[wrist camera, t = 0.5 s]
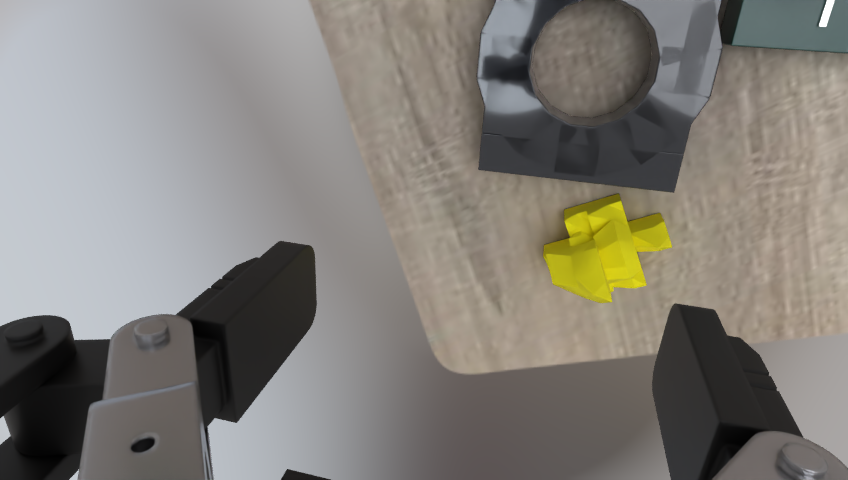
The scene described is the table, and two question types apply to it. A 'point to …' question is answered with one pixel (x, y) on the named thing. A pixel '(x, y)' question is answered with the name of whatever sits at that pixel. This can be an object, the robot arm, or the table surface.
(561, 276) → the yellow faceted cluster
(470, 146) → the table surface
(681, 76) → the square flange with hole
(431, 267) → the table surface
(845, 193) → the table surface
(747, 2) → the panel
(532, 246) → the table surface
